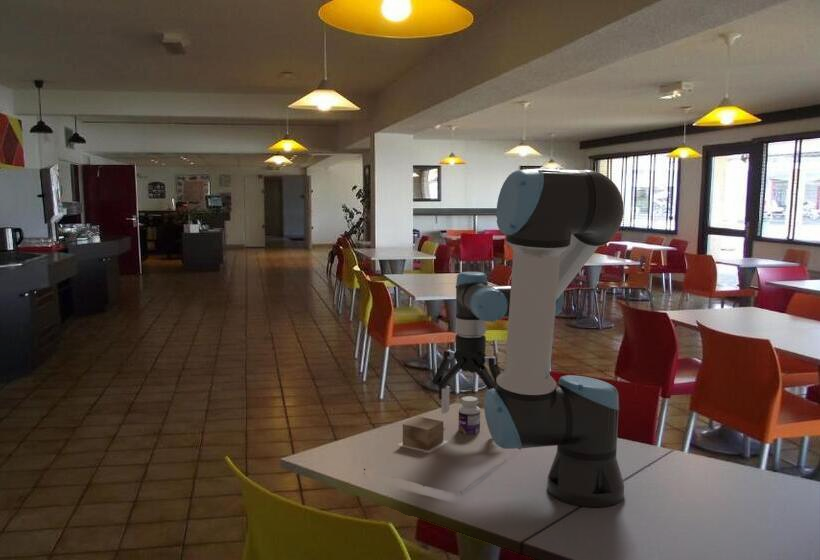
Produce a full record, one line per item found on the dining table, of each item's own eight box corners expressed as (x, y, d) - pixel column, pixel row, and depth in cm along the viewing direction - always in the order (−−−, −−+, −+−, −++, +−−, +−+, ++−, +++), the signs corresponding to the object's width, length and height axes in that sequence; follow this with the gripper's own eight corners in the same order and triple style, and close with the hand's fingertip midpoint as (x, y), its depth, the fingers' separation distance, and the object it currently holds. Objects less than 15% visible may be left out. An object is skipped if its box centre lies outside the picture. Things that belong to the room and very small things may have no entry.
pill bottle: (455, 433, 170) (455, 396, 169) (474, 431, 172) (475, 394, 171) (463, 440, 165) (463, 402, 164) (483, 438, 167) (483, 400, 166)
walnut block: (443, 441, 161) (443, 421, 160) (428, 450, 155) (428, 429, 154) (418, 436, 164) (418, 416, 164) (402, 444, 158) (402, 424, 158)
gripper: (523, 338, 162) (520, 422, 165) (434, 326, 176) (433, 404, 178) (510, 343, 156) (508, 431, 159) (419, 330, 169) (418, 411, 172)
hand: (468, 417), depth 169 cm, fingers open, 13 cm apart
